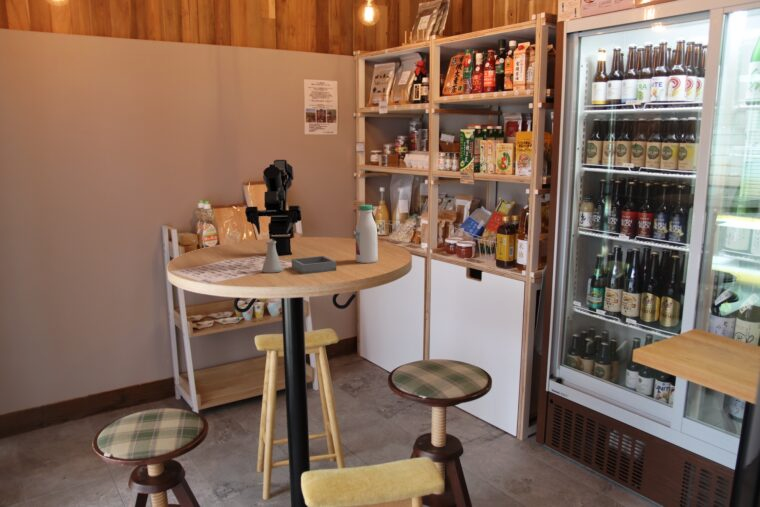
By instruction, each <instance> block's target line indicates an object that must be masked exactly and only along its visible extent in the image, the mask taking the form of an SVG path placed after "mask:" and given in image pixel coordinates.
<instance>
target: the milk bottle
mask: <svg viewBox="0 0 760 507" xmlns="http://www.w3.org/2000/svg"><path fill="white" fill-rule="evenodd" d="M358 211H359V217H358V220H357V223H356V225H355V261H356V262H357V263H360V264H372V263H376V262H378V260H379V259H378V258H379V256H378V254H379V253H378V248H379V247H378V246H379V245H378V244H379V243H378V228H377V223H376V222H375V219H374V217H373V205H372V204H360V205H359V207H358Z"/></svg>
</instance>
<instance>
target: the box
mask: <svg viewBox="0 0 760 507" xmlns="http://www.w3.org/2000/svg"><path fill="white" fill-rule="evenodd" d="M290 260H291V268H292V269H293V270H295V271H297V272H298V273H301V275H306V274H307V275H309V274H314V273H315V274H317V273H325V272H333V271H337V261H336V260H333V259H331V258H329V257H327V256H325V255H320V256H310V257H299V258H292V259H290Z"/></svg>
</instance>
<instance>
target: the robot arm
mask: <svg viewBox="0 0 760 507" xmlns="http://www.w3.org/2000/svg"><path fill="white" fill-rule="evenodd" d="M294 177H295V176H294V169H293V167H292V165H291V164H289V163H288V160H287V159H275V160H273V163H272V164H269V166H267V167H266V168H264V170H263V176H262V178H263V182H264V184H265V187H266V191H264V199H263V200H264V204H263V205H264V206H263V207H264V208H265V209H258V206H246V208H245V210H244V213H245V214H244V215H245V218H246V222H248V223H250V224H251V225H254V226H255V228H256V231H257V234H258V235H260V234H261V226H260V225H261V224H260V217H268V218H270V220H269V223H268V224H267V226H268V237H269V240H271V241H276V244H275V246H276V251H277V255H278V256H287V255H293V252H292V251H291V249H292V247H291V245H292V244H291V240H292V239H293V238H295V231H294V225H295V224H296V223H298V222H301V221H302V218H303V216H302V207H301V206H300V205H288V192H289V191H288V189H290V188H291V186H293V181H294V180H295V179H294ZM287 207H288V209H287Z"/></svg>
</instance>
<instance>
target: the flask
mask: <svg viewBox="0 0 760 507" xmlns="http://www.w3.org/2000/svg"><path fill="white" fill-rule="evenodd" d="M265 243H266V244H267V249H266V255H265V259H264V262H263V265H262V268H261V272H263V273H273V274H274V273H281V272H282V271H284V267H283V264H282V263H281V260H280V258H279V255H277V251H276V246H275V244H276V241H272V240H267V241H266V242H265Z"/></svg>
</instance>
